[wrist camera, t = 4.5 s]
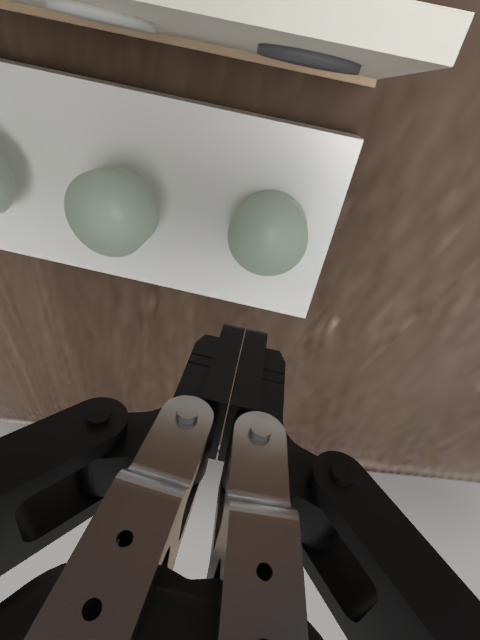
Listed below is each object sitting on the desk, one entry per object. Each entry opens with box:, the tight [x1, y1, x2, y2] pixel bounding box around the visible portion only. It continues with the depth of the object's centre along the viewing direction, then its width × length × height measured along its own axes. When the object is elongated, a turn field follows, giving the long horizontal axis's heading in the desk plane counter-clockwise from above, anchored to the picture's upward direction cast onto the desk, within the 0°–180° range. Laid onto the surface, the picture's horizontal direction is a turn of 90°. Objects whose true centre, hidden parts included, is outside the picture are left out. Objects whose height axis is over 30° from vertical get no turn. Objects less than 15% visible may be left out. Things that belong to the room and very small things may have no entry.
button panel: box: [0, 58, 364, 318], centre depth 25 cm, size 26×12×3 cm, turn 80°
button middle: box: [64, 164, 160, 257], centre depth 21 cm, size 5×5×2 cm
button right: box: [228, 190, 308, 276], centre depth 23 cm, size 5×5×2 cm
